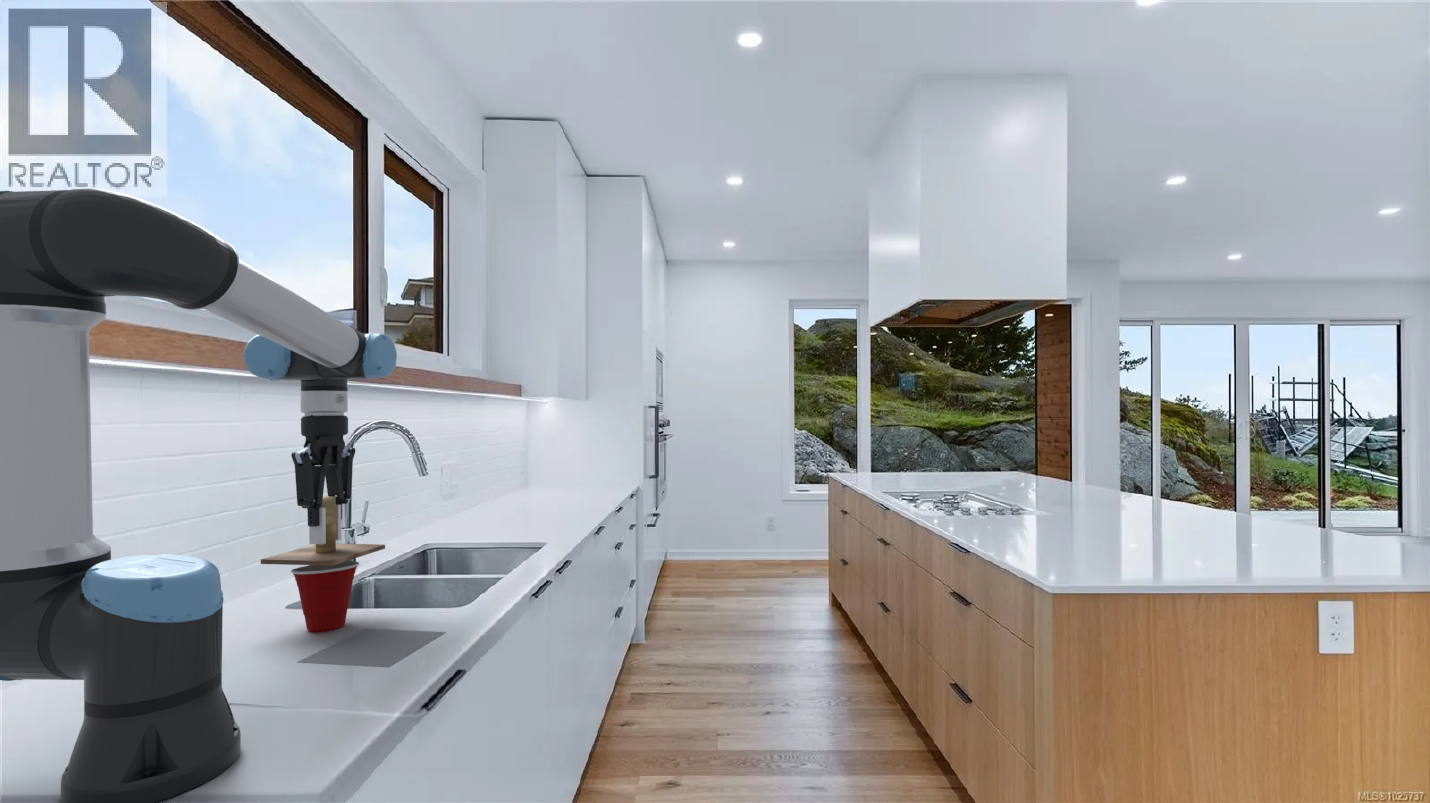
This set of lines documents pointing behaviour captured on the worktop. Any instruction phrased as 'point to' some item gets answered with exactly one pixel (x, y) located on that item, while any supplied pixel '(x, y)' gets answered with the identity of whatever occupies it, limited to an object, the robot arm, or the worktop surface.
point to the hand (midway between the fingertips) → (325, 541)
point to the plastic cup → (325, 594)
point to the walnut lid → (325, 546)
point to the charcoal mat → (373, 648)
